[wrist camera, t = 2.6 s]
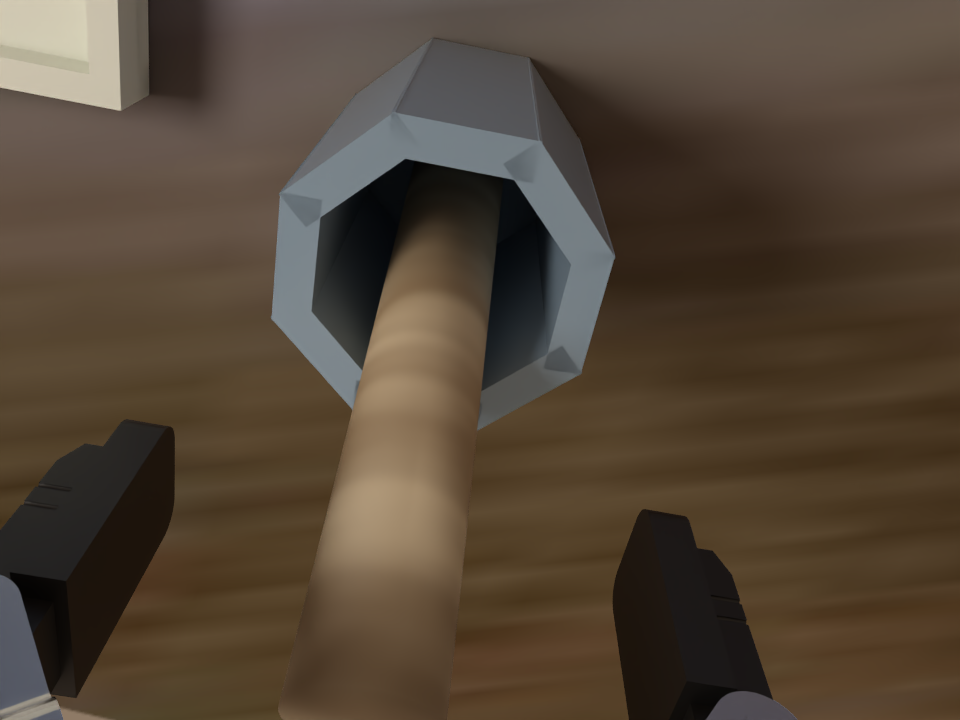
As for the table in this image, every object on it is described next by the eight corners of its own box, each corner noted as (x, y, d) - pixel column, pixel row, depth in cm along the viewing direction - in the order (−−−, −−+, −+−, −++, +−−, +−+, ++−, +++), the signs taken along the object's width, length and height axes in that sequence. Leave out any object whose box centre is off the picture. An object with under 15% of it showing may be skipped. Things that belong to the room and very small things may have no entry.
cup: (362, 22, 22) (286, 89, 15) (596, 70, 23) (643, 160, 15) (338, 244, 26) (265, 396, 18) (544, 282, 26) (560, 447, 18)
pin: (429, 87, 22) (295, 466, 9) (515, 104, 23) (513, 503, 9) (400, 277, 26) (269, 772, 12) (475, 291, 26) (430, 795, 12)
